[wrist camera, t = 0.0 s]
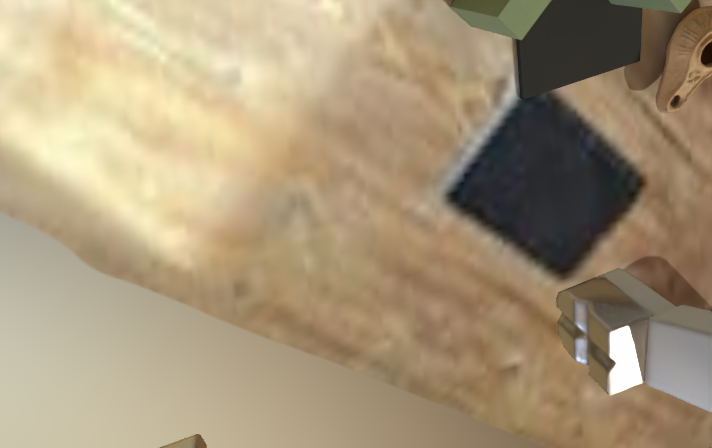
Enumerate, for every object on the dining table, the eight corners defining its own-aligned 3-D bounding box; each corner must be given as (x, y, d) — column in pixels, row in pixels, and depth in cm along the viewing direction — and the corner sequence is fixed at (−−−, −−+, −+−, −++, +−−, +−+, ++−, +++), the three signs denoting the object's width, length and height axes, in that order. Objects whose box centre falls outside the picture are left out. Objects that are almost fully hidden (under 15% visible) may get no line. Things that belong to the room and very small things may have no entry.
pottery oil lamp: (624, 98, 69) (662, 83, 62) (658, 12, 69) (700, -13, 62) (684, 127, 69) (728, 115, 62) (717, 41, 70) (765, 20, 63)
